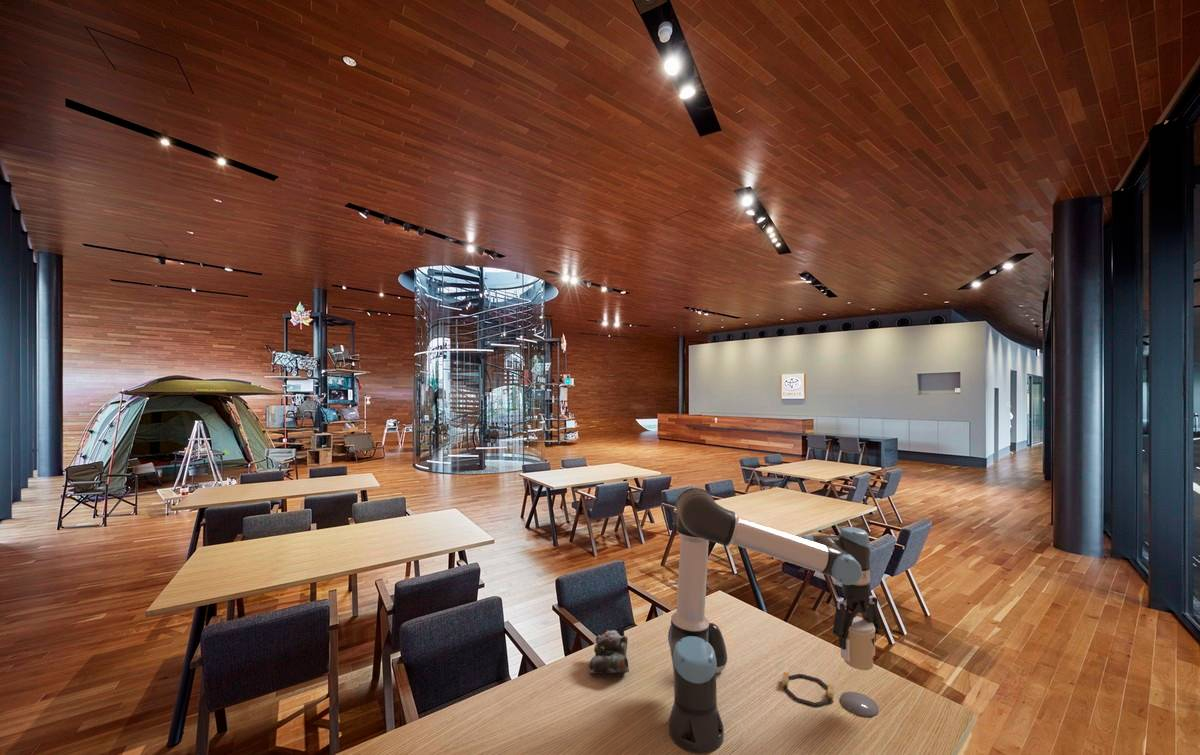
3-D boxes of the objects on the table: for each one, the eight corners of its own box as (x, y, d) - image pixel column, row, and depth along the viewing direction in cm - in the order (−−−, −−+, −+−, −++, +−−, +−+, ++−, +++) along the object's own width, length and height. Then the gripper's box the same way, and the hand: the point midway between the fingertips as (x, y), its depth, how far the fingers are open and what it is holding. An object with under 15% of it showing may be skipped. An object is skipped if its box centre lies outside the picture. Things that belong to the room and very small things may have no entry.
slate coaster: (859, 720, 131) (859, 717, 131) (832, 697, 141) (832, 695, 141) (886, 712, 134) (886, 710, 134) (858, 690, 144) (858, 688, 144)
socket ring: (805, 710, 135) (804, 701, 136) (774, 681, 149) (774, 673, 149) (843, 700, 139) (843, 692, 139) (810, 672, 153) (809, 665, 153)
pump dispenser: (690, 668, 156) (689, 623, 157) (708, 656, 163) (707, 613, 163) (715, 682, 149) (714, 635, 149) (733, 669, 156) (732, 624, 156)
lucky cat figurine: (580, 673, 155) (583, 626, 162) (604, 673, 162) (606, 628, 169) (613, 677, 145) (614, 627, 152) (637, 677, 153) (637, 629, 160)
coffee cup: (882, 672, 133) (881, 631, 133) (848, 671, 133) (847, 630, 134) (867, 654, 142) (865, 615, 142) (835, 652, 143) (834, 614, 143)
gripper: (836, 591, 131) (838, 670, 131) (894, 580, 138) (897, 656, 137) (817, 580, 139) (819, 655, 138) (873, 571, 145) (875, 643, 144)
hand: (858, 656), depth 138 cm, fingers closed on coffee cup, 9 cm apart
